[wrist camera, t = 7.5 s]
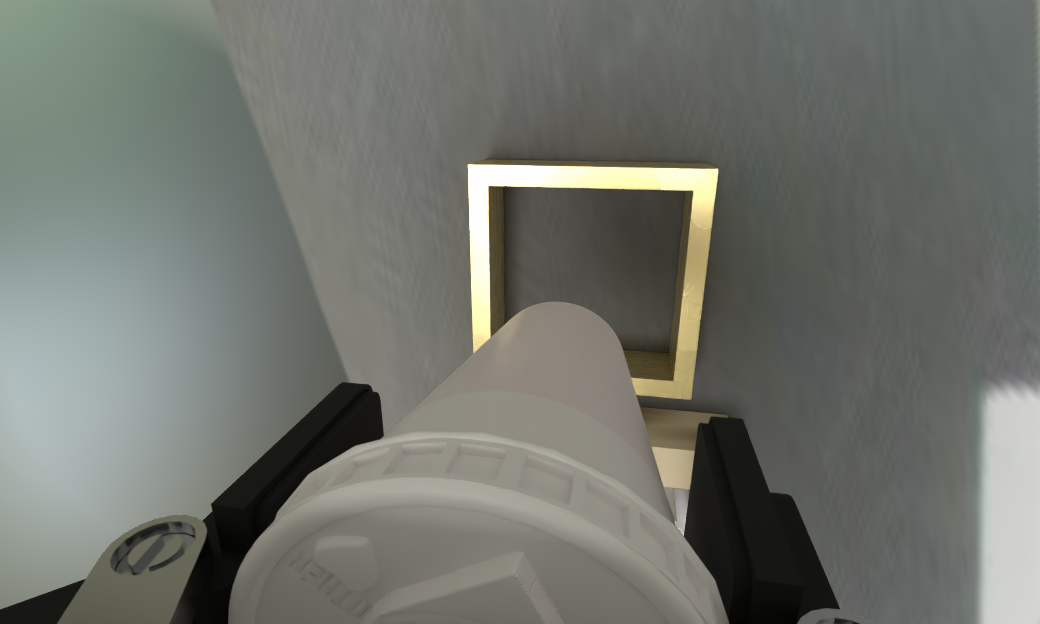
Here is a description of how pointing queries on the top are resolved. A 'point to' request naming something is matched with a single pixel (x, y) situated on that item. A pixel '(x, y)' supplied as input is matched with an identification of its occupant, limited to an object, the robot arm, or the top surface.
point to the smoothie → (491, 503)
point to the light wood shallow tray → (697, 179)
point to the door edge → (674, 442)
